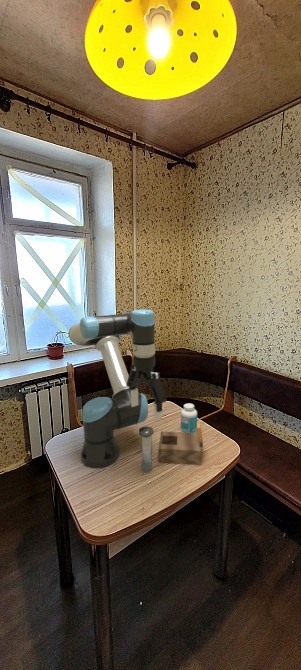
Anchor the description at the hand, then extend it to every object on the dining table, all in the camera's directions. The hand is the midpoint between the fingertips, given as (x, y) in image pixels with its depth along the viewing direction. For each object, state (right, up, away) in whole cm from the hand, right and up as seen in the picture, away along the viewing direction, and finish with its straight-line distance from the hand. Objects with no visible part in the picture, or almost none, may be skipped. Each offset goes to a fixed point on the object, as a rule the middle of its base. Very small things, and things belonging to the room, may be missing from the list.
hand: (145, 412), depth 97 cm
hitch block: (+14, -21, +13) cm, 28 cm away
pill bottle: (+20, -18, +28) cm, 38 cm away
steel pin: (0, -23, +5) cm, 23 cm away
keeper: (+21, -11, +10) cm, 25 cm away
